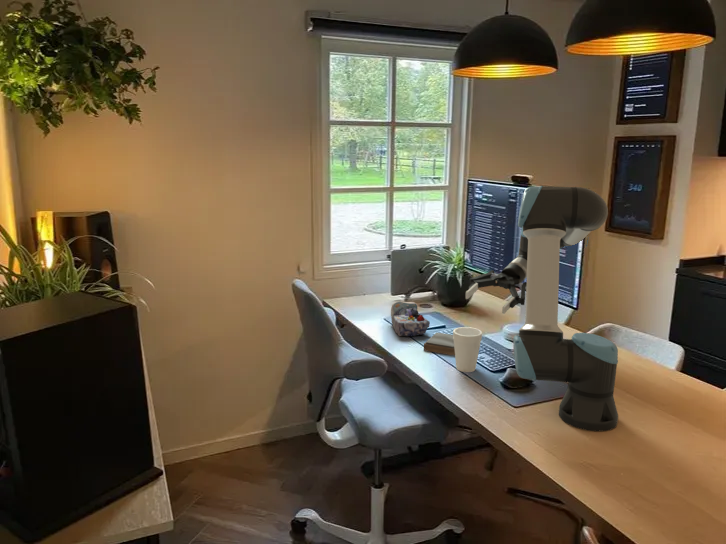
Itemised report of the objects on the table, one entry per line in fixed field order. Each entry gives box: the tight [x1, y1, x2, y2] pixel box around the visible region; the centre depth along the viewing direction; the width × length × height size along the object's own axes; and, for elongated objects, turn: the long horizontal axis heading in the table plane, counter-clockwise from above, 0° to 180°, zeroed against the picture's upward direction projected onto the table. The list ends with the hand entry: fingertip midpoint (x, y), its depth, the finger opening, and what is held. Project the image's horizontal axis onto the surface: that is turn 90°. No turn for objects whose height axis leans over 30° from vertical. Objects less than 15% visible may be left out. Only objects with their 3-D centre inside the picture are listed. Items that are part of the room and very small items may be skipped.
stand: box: [423, 331, 455, 357], centre depth 211 cm, size 13×13×3 cm
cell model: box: [390, 301, 431, 337], centre depth 228 cm, size 13×11×20 cm
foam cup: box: [452, 326, 483, 373], centre depth 191 cm, size 10×9×13 cm
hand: (484, 302), depth 187 cm, fingers open, 13 cm apart
